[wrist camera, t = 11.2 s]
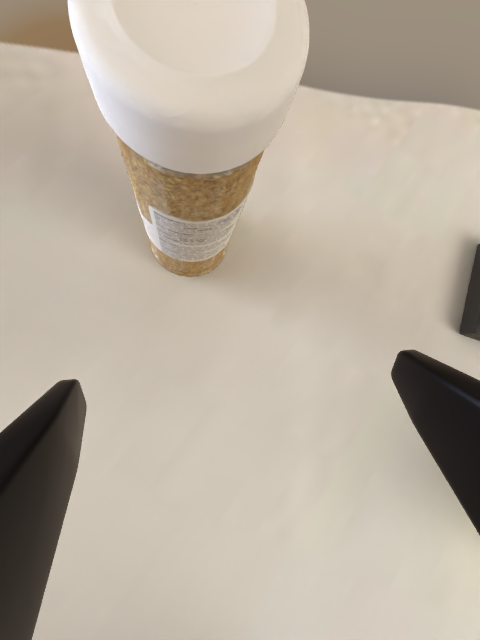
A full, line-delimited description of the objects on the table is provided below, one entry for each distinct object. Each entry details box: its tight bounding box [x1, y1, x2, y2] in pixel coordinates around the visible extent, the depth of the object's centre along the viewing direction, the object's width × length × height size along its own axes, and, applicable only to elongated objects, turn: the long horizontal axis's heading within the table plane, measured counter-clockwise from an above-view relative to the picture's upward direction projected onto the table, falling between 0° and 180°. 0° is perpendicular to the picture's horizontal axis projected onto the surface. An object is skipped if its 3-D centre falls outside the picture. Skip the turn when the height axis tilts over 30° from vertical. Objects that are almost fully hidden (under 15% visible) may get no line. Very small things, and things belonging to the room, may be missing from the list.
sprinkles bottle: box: [68, 0, 309, 277], centre depth 12 cm, size 5×5×13 cm
